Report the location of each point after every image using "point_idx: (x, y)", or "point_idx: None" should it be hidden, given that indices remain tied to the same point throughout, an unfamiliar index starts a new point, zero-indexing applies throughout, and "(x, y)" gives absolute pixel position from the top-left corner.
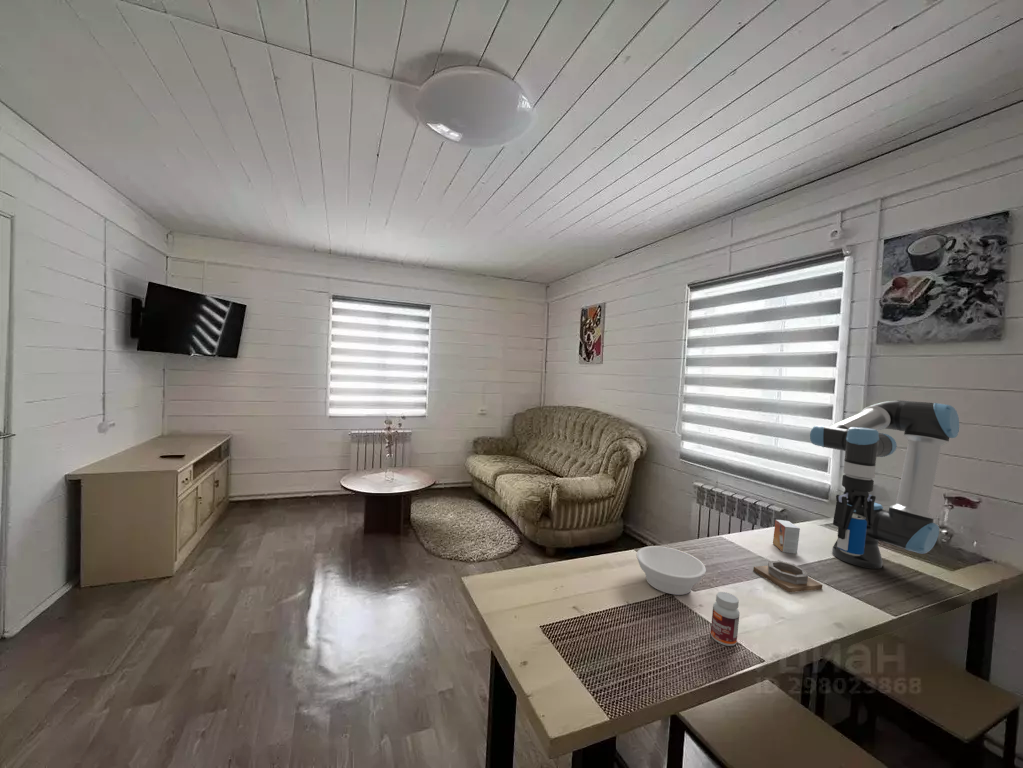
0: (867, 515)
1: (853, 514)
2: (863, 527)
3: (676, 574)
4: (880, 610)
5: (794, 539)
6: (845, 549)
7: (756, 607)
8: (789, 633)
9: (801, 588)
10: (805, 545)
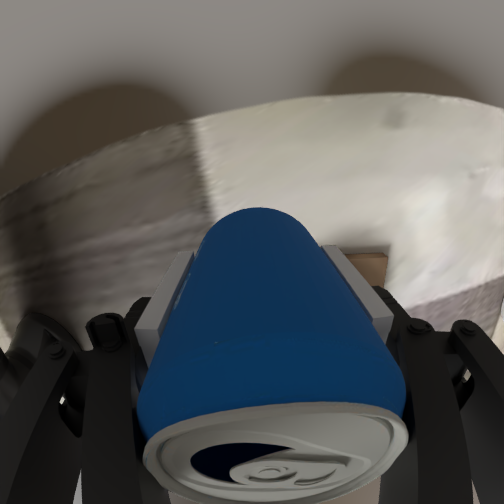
0: (56, 443)
1: (209, 490)
2: (288, 294)
3: (501, 313)
4: (202, 146)
5: None
6: (336, 249)
7: (482, 214)
8: (490, 138)
9: (348, 257)
10: None
